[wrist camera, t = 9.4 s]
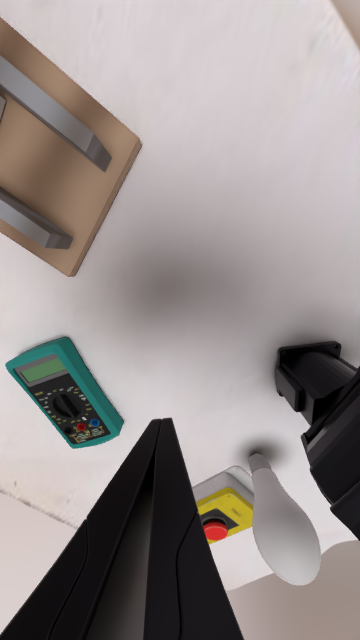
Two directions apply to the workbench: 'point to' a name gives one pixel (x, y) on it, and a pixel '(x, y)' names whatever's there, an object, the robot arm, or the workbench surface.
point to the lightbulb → (282, 528)
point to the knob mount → (55, 156)
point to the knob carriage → (1, 105)
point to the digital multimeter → (66, 393)
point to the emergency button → (225, 503)
